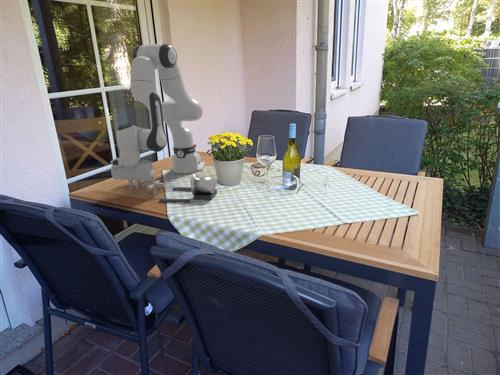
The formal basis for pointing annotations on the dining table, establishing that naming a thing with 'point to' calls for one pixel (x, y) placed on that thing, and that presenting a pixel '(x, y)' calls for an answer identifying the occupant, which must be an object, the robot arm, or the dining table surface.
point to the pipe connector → (153, 185)
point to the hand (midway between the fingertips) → (135, 188)
